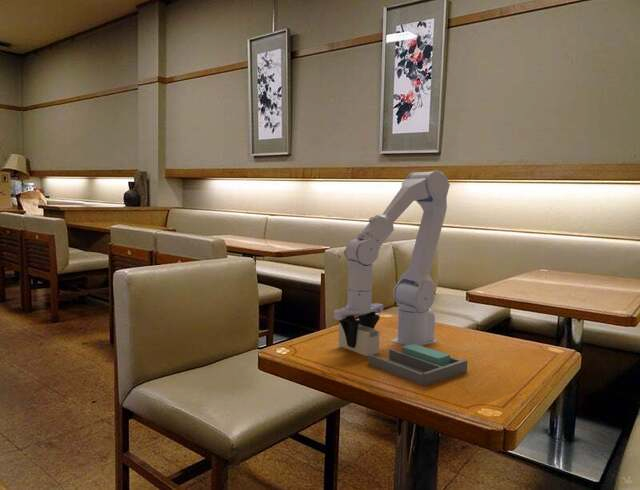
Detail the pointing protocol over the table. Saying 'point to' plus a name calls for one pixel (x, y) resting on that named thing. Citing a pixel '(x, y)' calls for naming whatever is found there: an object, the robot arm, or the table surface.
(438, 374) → the grey divided tray
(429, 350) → the teal rectangular prism
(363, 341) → the grey striped bar
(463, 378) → the table surface
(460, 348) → the table surface
